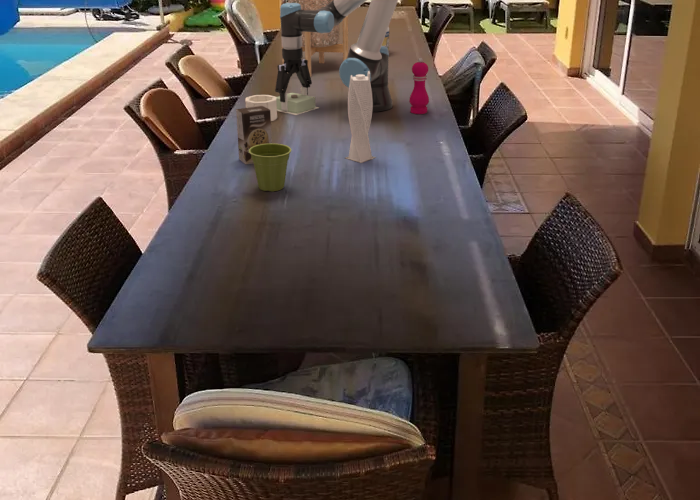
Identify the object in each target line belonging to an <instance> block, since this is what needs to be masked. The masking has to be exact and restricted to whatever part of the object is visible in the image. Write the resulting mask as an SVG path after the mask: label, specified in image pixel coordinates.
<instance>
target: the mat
mask: <svg viewBox="0 0 700 500" xmlns="http://www.w3.org/2000/svg"><path fill="white" fill-rule="evenodd" d="M318 109H320V107H318V106H315V108H313V109H310V110H307V111H303V112H300V113H293V112H289V111H284V110H280V109H277V112H281V113H285V114H289V115H294V116H298V115H302V114H304V113H308V112H310V111H314V110H318Z"/></svg>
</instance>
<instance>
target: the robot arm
mask: <svg viewBox="0 0 700 500" xmlns="http://www.w3.org/2000/svg"><path fill="white" fill-rule="evenodd" d="M367 1H368V0H333V1H331V2H330V3H329V4H328V5H326V6H325V7H323V8H320V9H317V10H301V5H300V4H299V3H288V2H286V3H282V4H281V5H280V7H279V9H280V10H279V12H280V14H279V18H280V34H281V35H280V36H281V37H280V40H281V39H282V41H281V59H282V58H283V59H284V64H277V76H276V82H275V89H274V91H275V93H279V96H280V102H281V109H282V110H284V111H288V97H287V94H288V92H287V89H288V86H289V83H290V80H291V77H292V76H293V75H294V74H295V75H296V77H297V78H298V80H299V83H300V84H301V86H300V94H302V95H307V96H309V88H310V87H311V85H312V83H313V82H312V76H311V77H310V73H309V69H308V60H305V58H304V57H303V56H304V55H303V54H304V52H303V50H302V48H301V47H302V32H317V33H329V32H331V31H332V29H333V27H334V26H336V25H338V24H339V25H340V24H341V23H343V19H344V18H345V17H346V16H348V17H349V15H351V13H353V12H354V11H356V9H358V8H359V7H360V6H361V5H363V4H364V3H366V2H367ZM398 1H399V0H370V3H369V6H368V9H367V11H366V15H365V16H364V17H365V18H364V21H363V24H362V27H361V29H360V31H359V34H358V38H357V41H356V42H355V43H353V44H351V45H350V48H349V49H348V56H347V59H345V60H344V61H343V60H342V62H341V64H340V66H339V69H338V70H339V71H338V74H339V78H340V80H341V81H342V84H343V85H345V87H347V88H348V89H349V84H350V76H351V75H352V77H356V75H359V74H362V75H365V76H368V71H370V84H371V91H372V101H373V109H372V113H373V112H375V113H376V112H377V113H378V112H384V111H388V110H390V109H392V108H393V99H392V96H391V92H390V89H389V57H390V53H389V54H388V48H387V47H386V46H382V43H383V40H384V38H385V35H386V32H387V29H388V27H389V26H390V23H391V21H392V17H393V15H394V13H395V10H396V7H397V4H398ZM282 47H284V48H282Z"/></svg>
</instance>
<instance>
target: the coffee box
mask: <svg viewBox="0 0 700 500" xmlns="http://www.w3.org/2000/svg"><path fill="white" fill-rule="evenodd" d="M235 112H236V113H235V114H236V128H237V129H236V130H237V148H238V149H237V150H238V159H239V160H240V161H241V162H242V163H243V164H244V165H252V164H254V163H253V160H252V157H251V154H250V153H249V149H250V148H251V147H253V146H256V145H260V144H269V143H273V141H272V121H271V114H270V110H269V109H268V108H266V107H264V106H257V107H249V108H246V107H242V108H236V109H235Z"/></svg>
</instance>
